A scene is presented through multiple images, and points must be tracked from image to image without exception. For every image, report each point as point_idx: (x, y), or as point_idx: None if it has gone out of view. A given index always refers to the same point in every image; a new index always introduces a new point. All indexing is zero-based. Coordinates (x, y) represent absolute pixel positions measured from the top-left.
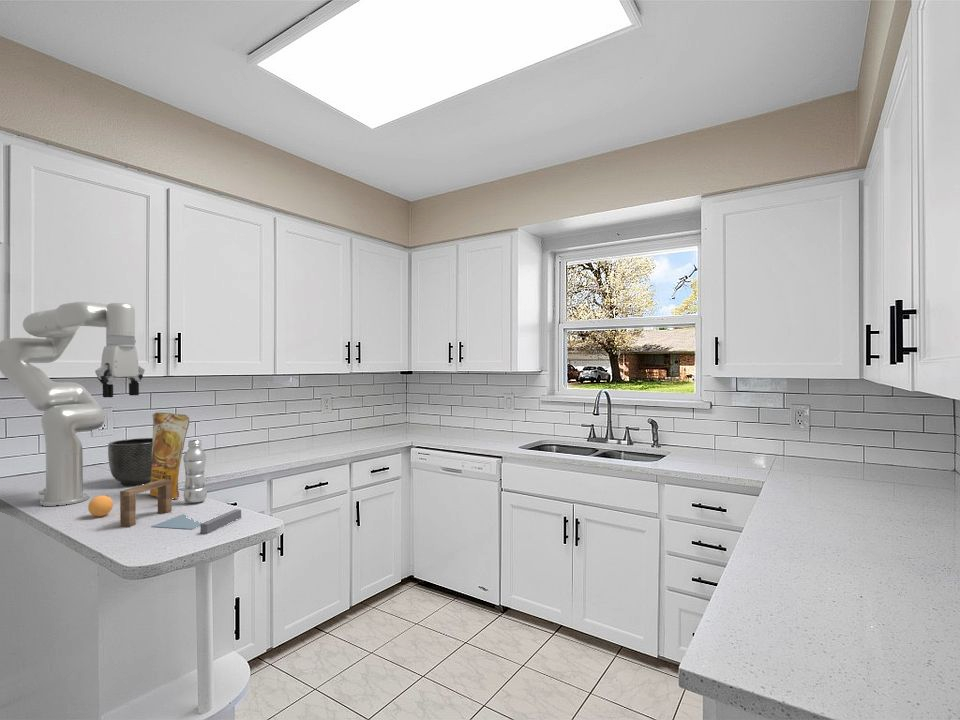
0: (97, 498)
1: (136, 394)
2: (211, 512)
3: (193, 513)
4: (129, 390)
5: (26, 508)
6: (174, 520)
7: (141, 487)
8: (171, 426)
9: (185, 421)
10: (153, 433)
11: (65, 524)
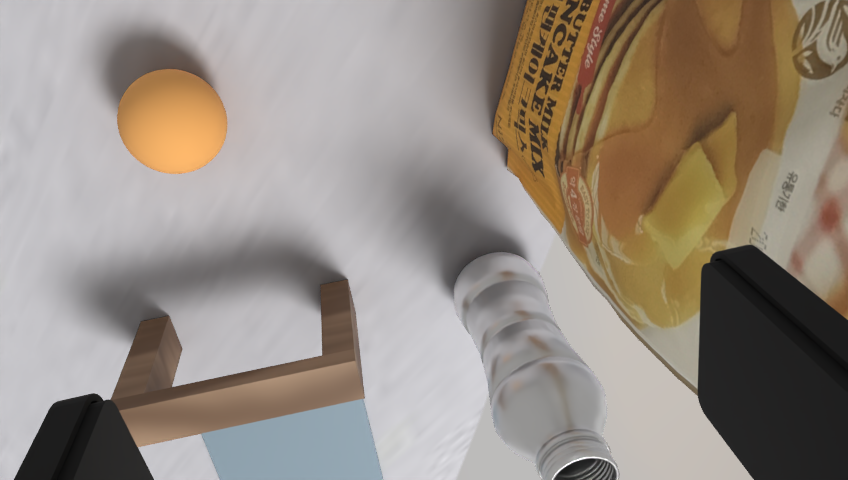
0: (141, 149)
1: (702, 404)
2: (401, 431)
3: (369, 394)
4: (760, 320)
5: None
6: (274, 420)
7: (198, 424)
8: (765, 253)
9: None
10: None
11: (25, 90)
